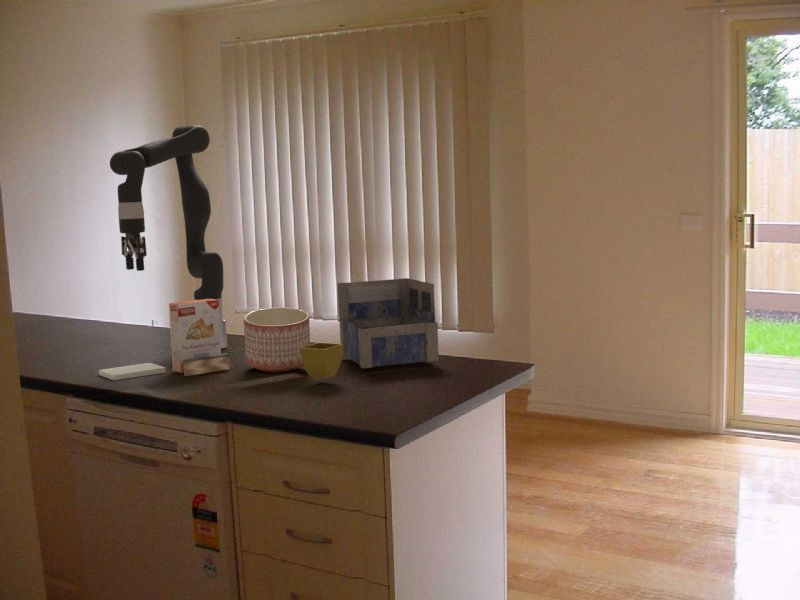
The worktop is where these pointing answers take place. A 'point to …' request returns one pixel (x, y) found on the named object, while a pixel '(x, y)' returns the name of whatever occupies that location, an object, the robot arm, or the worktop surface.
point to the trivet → (131, 371)
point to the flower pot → (321, 359)
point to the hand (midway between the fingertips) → (135, 270)
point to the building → (388, 322)
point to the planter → (276, 338)
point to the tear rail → (206, 364)
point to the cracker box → (194, 330)
